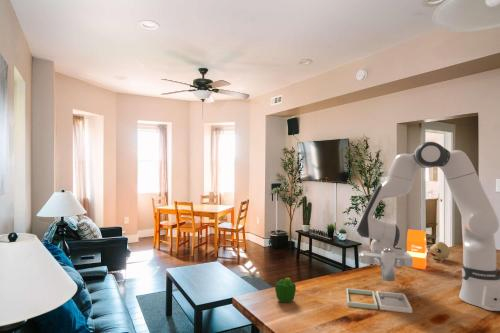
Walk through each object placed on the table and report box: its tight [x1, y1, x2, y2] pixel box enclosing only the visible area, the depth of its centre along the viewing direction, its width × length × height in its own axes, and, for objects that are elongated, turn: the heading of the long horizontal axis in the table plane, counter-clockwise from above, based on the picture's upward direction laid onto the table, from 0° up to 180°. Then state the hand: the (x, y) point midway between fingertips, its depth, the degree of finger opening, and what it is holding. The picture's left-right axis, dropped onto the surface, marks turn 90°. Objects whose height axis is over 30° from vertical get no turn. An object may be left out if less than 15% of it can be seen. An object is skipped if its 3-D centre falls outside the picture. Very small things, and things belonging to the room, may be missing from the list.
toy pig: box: [426, 241, 451, 262], centre depth 183 cm, size 10×12×11 cm
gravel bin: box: [375, 290, 413, 314], centre depth 124 cm, size 11×14×3 cm
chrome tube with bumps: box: [380, 248, 396, 282], centre depth 124 cm, size 5×5×12 cm
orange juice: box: [406, 228, 428, 270], centre depth 173 cm, size 8×9×20 cm
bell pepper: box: [274, 277, 297, 303], centre depth 130 cm, size 8×8×10 cm
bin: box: [346, 287, 379, 310], centre depth 127 cm, size 11×14×3 cm
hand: (388, 264), depth 123 cm, fingers closed on chrome tube with bumps, 5 cm apart
